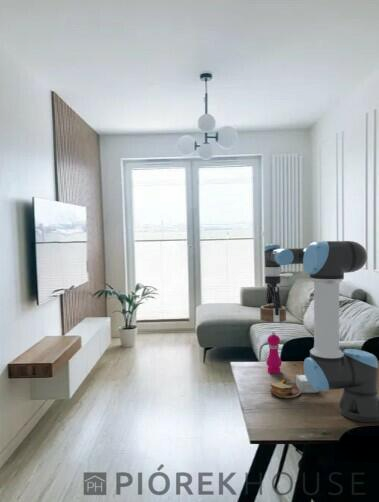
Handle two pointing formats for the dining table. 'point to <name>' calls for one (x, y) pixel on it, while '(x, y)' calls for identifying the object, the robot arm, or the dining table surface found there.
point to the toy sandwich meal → (284, 390)
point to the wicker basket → (271, 313)
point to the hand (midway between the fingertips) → (273, 318)
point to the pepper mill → (273, 354)
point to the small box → (304, 384)
